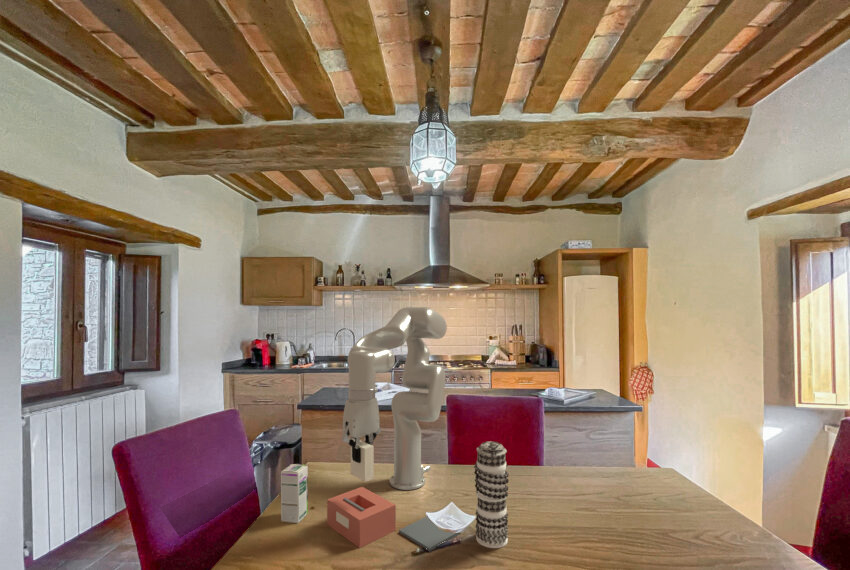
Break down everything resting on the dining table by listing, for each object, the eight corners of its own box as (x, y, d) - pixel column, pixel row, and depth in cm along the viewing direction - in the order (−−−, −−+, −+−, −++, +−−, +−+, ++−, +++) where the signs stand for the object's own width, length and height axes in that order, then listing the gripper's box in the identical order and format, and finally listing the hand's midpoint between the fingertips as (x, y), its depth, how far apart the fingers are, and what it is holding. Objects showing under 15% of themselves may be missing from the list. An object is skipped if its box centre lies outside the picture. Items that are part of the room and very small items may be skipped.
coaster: (430, 517, 123) (430, 514, 123) (460, 533, 115) (460, 530, 115) (399, 532, 115) (399, 529, 115) (429, 551, 106) (429, 548, 107)
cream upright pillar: (359, 471, 122) (359, 440, 123) (373, 478, 117) (373, 446, 118) (350, 474, 120) (350, 442, 121) (364, 481, 115) (364, 448, 115)
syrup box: (298, 523, 120) (299, 472, 120) (279, 521, 121) (280, 470, 122) (308, 513, 125) (308, 464, 126) (290, 511, 127) (290, 463, 127)
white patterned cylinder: (473, 529, 117) (472, 438, 118) (506, 530, 117) (505, 439, 118) (475, 548, 108) (475, 450, 109) (512, 549, 107) (511, 450, 109)
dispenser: (361, 510, 128) (362, 485, 128) (395, 530, 116) (395, 503, 117) (326, 524, 119) (326, 498, 120) (359, 548, 108) (359, 519, 108)
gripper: (376, 388, 128) (376, 449, 127) (329, 397, 117) (329, 463, 116) (392, 392, 122) (392, 455, 122) (344, 401, 111) (344, 472, 111)
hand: (361, 459), depth 119 cm, fingers closed on cream upright pillar, 3 cm apart
